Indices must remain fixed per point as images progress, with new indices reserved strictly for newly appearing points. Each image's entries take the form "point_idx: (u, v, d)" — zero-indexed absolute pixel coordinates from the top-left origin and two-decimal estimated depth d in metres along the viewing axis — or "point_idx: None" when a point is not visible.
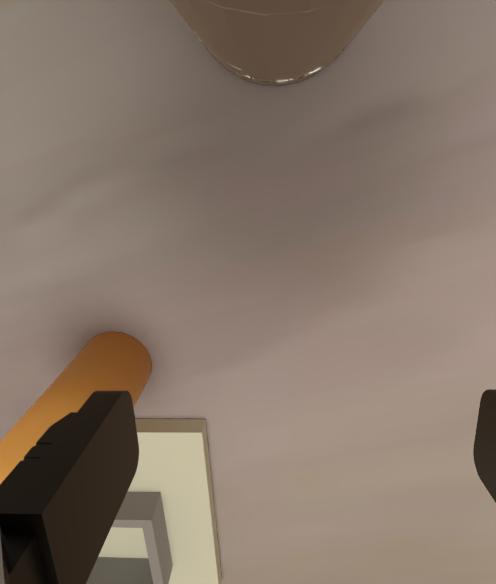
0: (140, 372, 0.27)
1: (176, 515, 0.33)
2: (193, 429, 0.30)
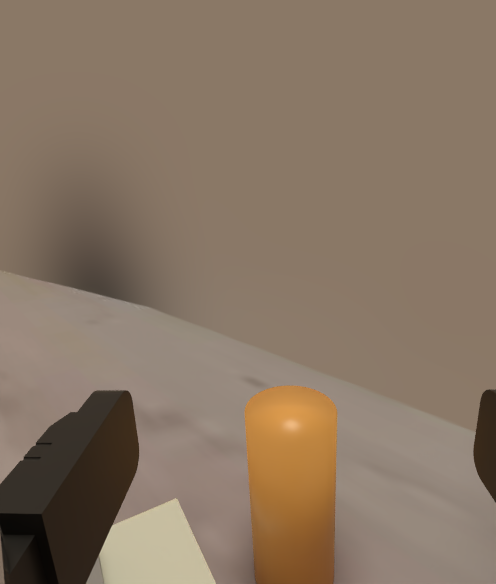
0: (324, 575, 0.23)
1: None
2: None
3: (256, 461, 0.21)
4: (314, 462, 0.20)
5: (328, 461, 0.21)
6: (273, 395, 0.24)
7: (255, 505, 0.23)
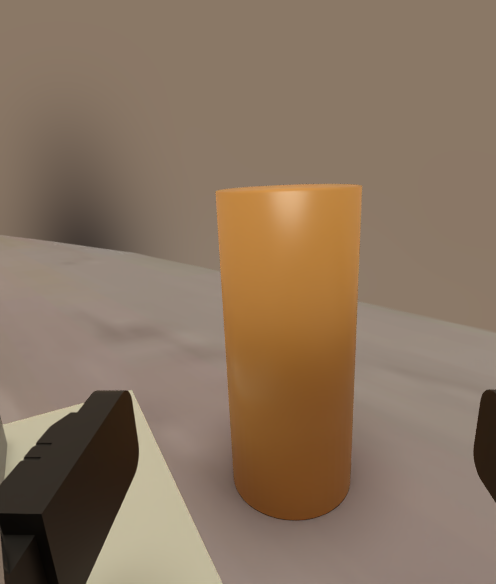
0: (337, 462, 0.15)
1: None
2: None
3: (231, 256, 0.13)
4: (325, 242, 0.12)
5: (348, 252, 0.13)
6: (262, 187, 0.16)
7: (231, 343, 0.14)
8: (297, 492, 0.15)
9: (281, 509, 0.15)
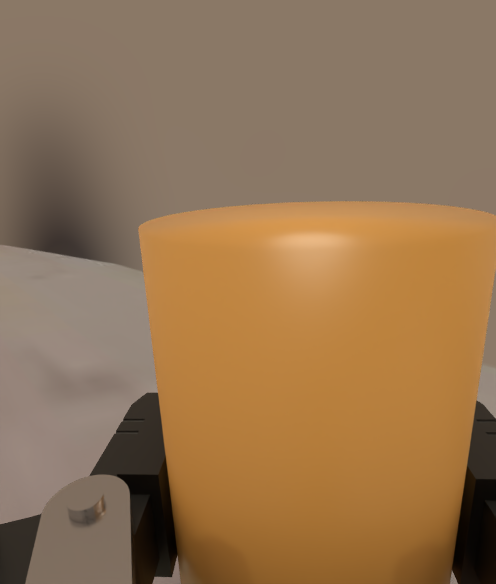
0: None
1: None
2: None
3: (171, 390, 0.05)
4: (424, 383, 0.04)
5: (471, 390, 0.05)
6: (252, 208, 0.08)
7: (182, 558, 0.07)
8: None
9: None
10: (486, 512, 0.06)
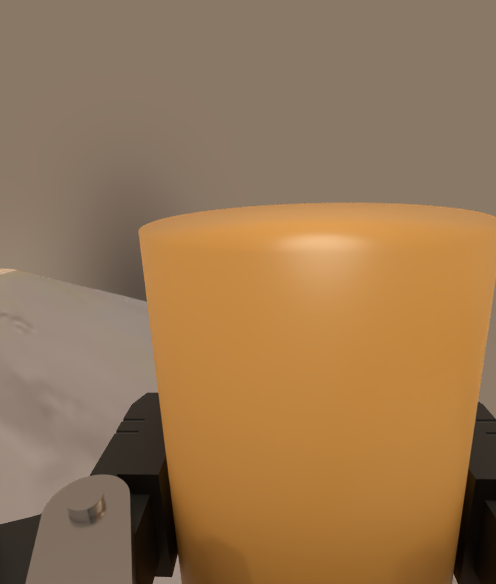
0: None
1: None
2: None
3: (171, 392, 0.05)
4: (426, 385, 0.04)
5: (471, 392, 0.05)
6: (252, 210, 0.08)
7: (183, 561, 0.07)
8: None
9: None
10: (486, 512, 0.06)
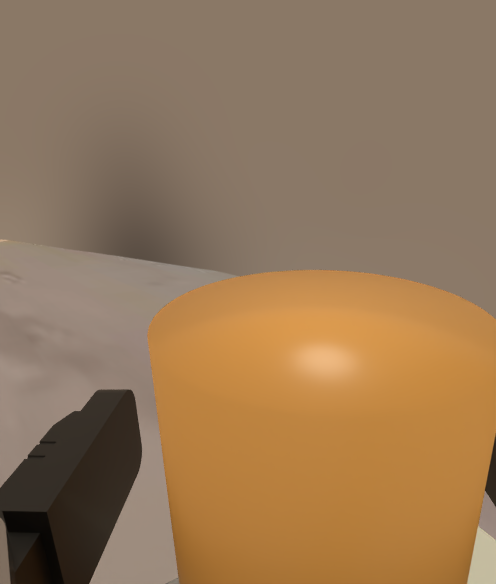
0: None
1: None
2: None
3: (181, 501, 0.05)
4: (432, 520, 0.04)
5: (477, 509, 0.05)
6: (258, 285, 0.08)
7: None
8: None
9: None
10: None
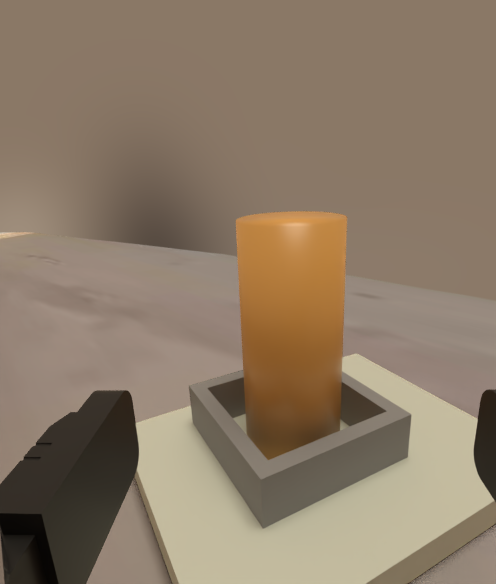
0: (329, 428, 0.20)
1: (386, 489, 0.18)
2: None
3: (248, 270, 0.18)
4: (319, 261, 0.17)
5: (336, 268, 0.17)
6: (270, 214, 0.20)
7: (247, 336, 0.19)
8: None
9: None
10: None
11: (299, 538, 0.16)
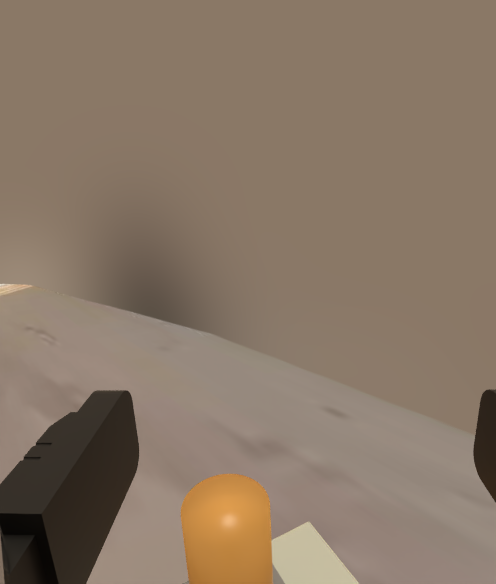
0: None
1: None
2: None
3: (189, 559, 0.22)
4: (243, 564, 0.21)
5: (259, 560, 0.22)
6: (212, 486, 0.24)
7: None
8: None
9: None
10: None
11: None
